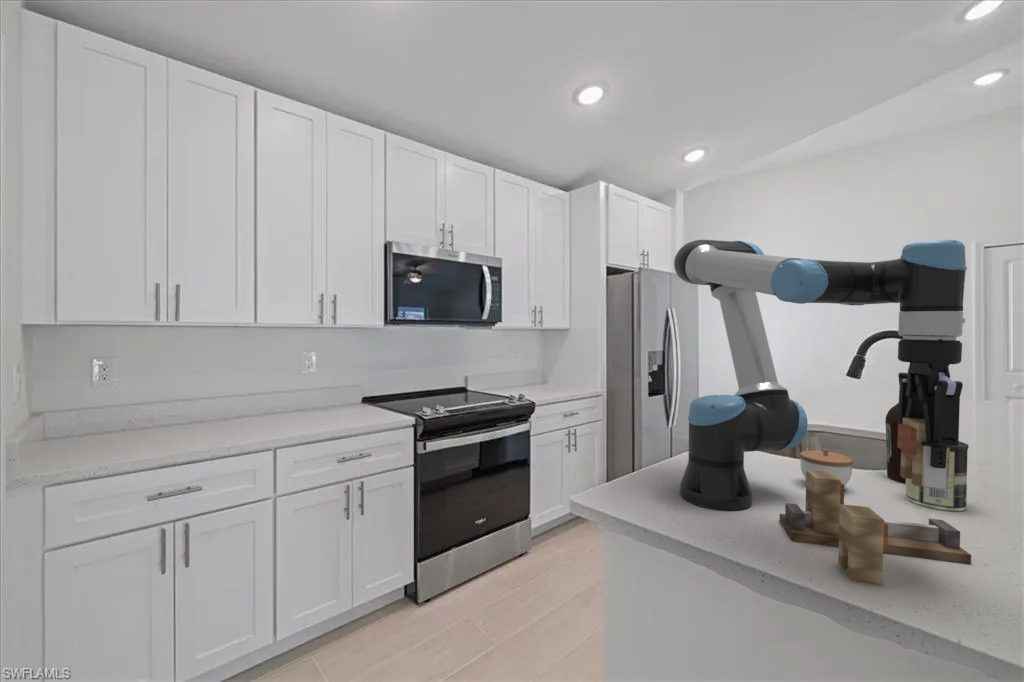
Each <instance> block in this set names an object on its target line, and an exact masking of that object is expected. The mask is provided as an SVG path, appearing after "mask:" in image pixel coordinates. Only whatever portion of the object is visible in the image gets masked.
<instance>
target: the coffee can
mask: <svg viewBox="0 0 1024 682" xmlns="http://www.w3.org/2000/svg"><path fill="white" fill-rule="evenodd" d="M968 449H969V444H968V443H965V442H963V441H960V440H959V443H958V446H957V447H956V446H951V447H950V455H949V476H948V489H938V488H929V487H919V486H915V485H913V484H912V479H906V483H905V493H904V494H905V495H904V498H905V499H906V500H907V501H908V502H911V503H913V504H916V505H919V506H922V507H925V508H929V509H935V510H939V511H946V512H947V511H948V512H964V511H966V510H967V509H968V508H967V500H968V499H967V496H968V495H967V492H968V491H967V490H968V486H967V485H968V484H967V483H968V479H967V478H968Z"/></svg>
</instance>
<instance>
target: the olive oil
mask: <svg viewBox="0 0 1024 682" xmlns="http://www.w3.org/2000/svg"><path fill="white" fill-rule="evenodd" d="M898 407H899V402H898V403H896V404H895V405H893V406H892V407H891V408H890V409H889V410H888V411H887V413H886V415H885V419H884V420H885V435H886V436H885V442H886V474H887V478H888V479H890V480H892V481H894V482H898V483H901V484H906V479H905V478H903V477H901V476H900V468H901V449H900V448H898V447H897V443H898Z"/></svg>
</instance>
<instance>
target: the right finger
mask: <svg viewBox="0 0 1024 682" xmlns="http://www.w3.org/2000/svg"><path fill="white" fill-rule="evenodd" d="M921 442H927V437H926V427H925V419H918V418H903V421H902V424H898V443H897V447H898V448H900V449H901V468H900V476H901V477H903V478H905V479H912V484H913V485H915V486H919V487H924V486H922V465H923V445H922V444H921ZM949 455H950V448H948V449H947V472H946V489H948V476H949ZM929 488H933V487H929ZM938 489H943V488H938Z"/></svg>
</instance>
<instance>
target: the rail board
mask: <svg viewBox="0 0 1024 682" xmlns="http://www.w3.org/2000/svg"><path fill="white" fill-rule="evenodd" d="M784 507H785V509H784V510H785V511H784V513H779V522H780V524H781V525H782V527H783V529H784V530H785V532H786V534H788V536H789V538H790V539H791V541H793V542H799V543H808V544H815V545H823V546H830V547H832V546H833V547H838V548H839V534H832V533H824V532H816V531H813V529H812V512H810V511H805V510H802V508H801V507H800V506H799V505H798V504H797V503H789V502H785V505H784ZM883 520H884V522H885V523H886V524H887V525H888V551H883V554H884V553H885V554H891V555H892V554H893V555H901V556H907V557H908V556H909V557H915V558H916V557H917V558H922V559H929V560H930V559H931V560H937V561H939V560H940V561H945V562H953V563H961V564H966V565H967V564H968V565H971V564H972V554H971V553H969V552H968V551H966V550H965V549H964V548H962V547H961V531H960V530H958V529H957V528H956V527H954V526H952V525H951V524H949V523H948V522H947V521H945V520H944V519H936V518H928V524H925V523H916V522H908V521H907V522H906V521H900V520H899V521H897V520H890V519H883Z"/></svg>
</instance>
